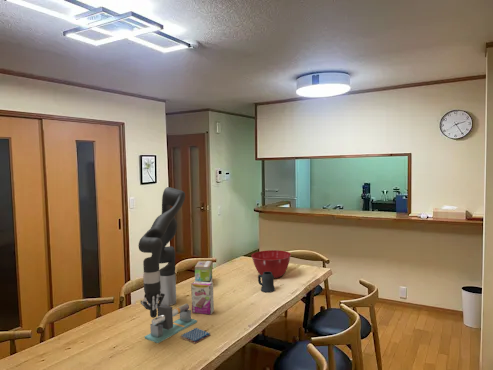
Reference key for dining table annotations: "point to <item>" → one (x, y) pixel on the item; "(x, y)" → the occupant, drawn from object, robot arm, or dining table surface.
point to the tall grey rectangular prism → (166, 316)
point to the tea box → (203, 271)
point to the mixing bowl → (271, 262)
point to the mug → (267, 282)
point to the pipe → (157, 327)
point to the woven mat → (195, 335)
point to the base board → (171, 330)
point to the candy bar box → (202, 297)
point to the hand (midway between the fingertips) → (153, 317)
